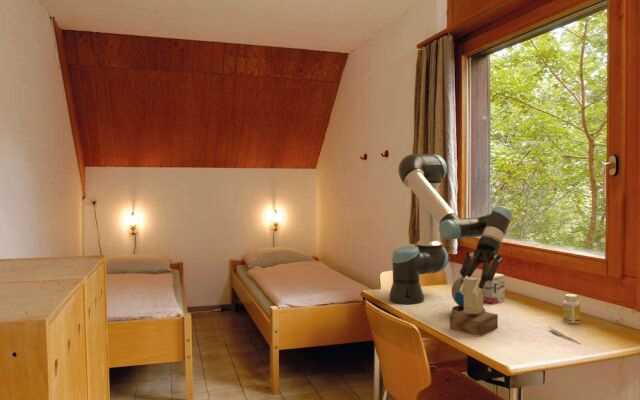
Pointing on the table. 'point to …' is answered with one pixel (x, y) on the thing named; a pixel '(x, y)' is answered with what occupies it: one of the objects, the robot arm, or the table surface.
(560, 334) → the beige slender tapered piece
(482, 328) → the walnut plinth
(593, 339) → the table surface
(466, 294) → the skincare box
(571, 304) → the supplement bottle
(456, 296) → the webcam
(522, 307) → the table surface
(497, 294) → the ink box
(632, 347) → the table surface
